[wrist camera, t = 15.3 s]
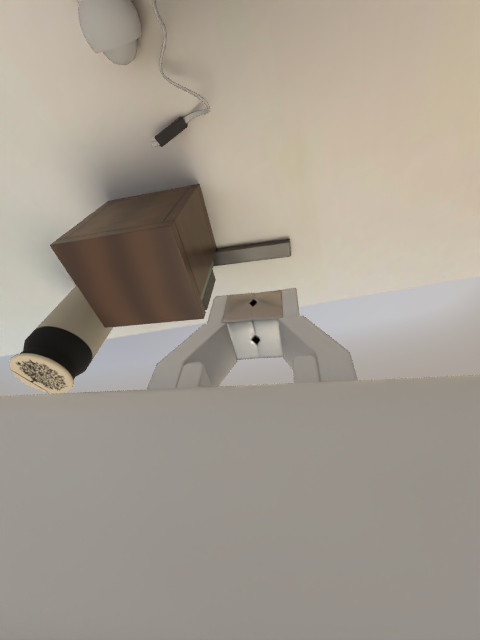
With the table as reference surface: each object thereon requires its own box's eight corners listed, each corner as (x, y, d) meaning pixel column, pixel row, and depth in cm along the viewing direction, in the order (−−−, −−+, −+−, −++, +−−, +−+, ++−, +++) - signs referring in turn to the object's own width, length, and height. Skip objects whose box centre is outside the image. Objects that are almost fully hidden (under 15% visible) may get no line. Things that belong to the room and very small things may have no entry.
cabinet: (283, 167, 33) (287, 206, 24) (290, 253, 40) (296, 310, 31) (107, 201, 38) (49, 245, 28) (141, 272, 45) (104, 328, 35)
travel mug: (107, 265, 45) (35, 347, 31) (138, 302, 49) (87, 388, 36) (72, 281, 47) (-9, 362, 34) (104, 315, 52) (45, 399, 38)
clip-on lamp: (235, 112, 33) (173, -201, 19) (238, 133, 29) (163, -242, 15) (142, 139, 34) (21, -131, 20) (132, 162, 31) (-25, -151, 17)
